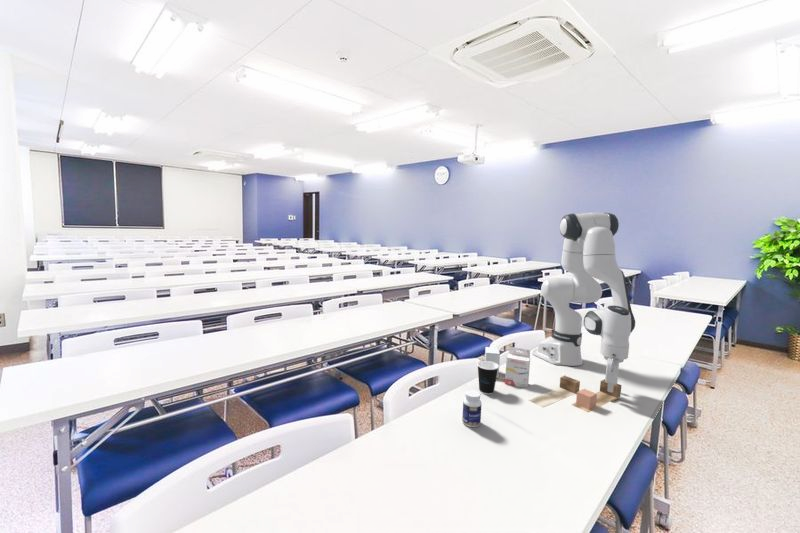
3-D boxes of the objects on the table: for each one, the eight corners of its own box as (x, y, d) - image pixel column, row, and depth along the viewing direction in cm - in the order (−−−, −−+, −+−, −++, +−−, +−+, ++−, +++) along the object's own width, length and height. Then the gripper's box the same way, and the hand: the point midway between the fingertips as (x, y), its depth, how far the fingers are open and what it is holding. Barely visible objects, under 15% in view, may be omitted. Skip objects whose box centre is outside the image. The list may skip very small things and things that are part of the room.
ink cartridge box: (504, 385, 142) (506, 349, 141) (506, 380, 147) (508, 345, 145) (527, 390, 139) (529, 353, 137) (528, 385, 143) (530, 349, 142)
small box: (498, 378, 149) (500, 353, 148) (484, 377, 150) (486, 352, 149) (497, 370, 157) (498, 347, 156) (484, 369, 158) (485, 346, 157)
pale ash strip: (528, 402, 128) (529, 389, 127) (564, 387, 140) (564, 375, 140) (543, 409, 123) (544, 396, 122) (578, 393, 135) (579, 381, 135)
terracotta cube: (576, 404, 126) (577, 391, 125) (583, 400, 128) (584, 388, 128) (588, 409, 122) (589, 397, 121) (595, 406, 124) (596, 393, 124)
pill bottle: (469, 429, 111) (471, 399, 110) (458, 420, 116) (459, 391, 115) (484, 425, 114) (485, 395, 113) (472, 416, 119) (474, 387, 118)
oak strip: (571, 406, 125) (571, 393, 125) (603, 391, 138) (604, 379, 137) (588, 414, 120) (589, 400, 120) (620, 397, 133) (621, 385, 132)
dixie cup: (493, 388, 140) (495, 360, 139) (500, 397, 132) (501, 369, 131) (473, 388, 140) (474, 360, 139) (478, 397, 132) (480, 368, 131)
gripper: (624, 361, 122) (620, 400, 124) (624, 344, 139) (621, 378, 141) (602, 357, 126) (599, 395, 127) (605, 341, 143) (602, 374, 145)
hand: (610, 386), depth 134 cm, fingers open, 8 cm apart
